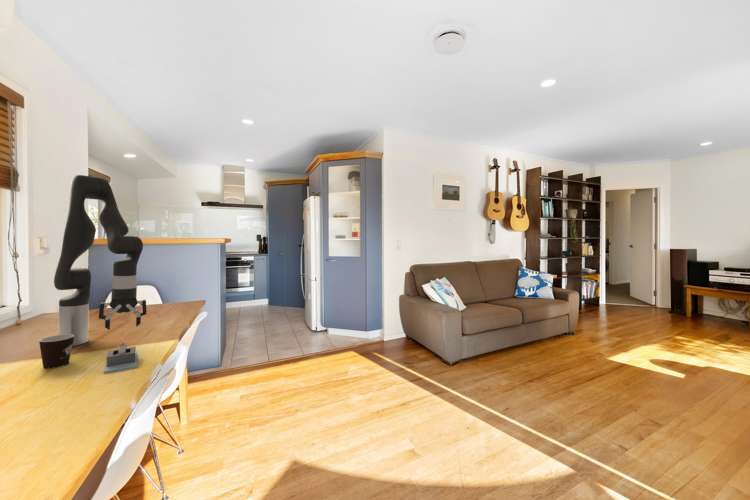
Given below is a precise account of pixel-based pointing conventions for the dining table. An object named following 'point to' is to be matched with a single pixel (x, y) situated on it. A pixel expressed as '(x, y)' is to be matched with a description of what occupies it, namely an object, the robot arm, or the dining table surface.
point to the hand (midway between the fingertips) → (123, 327)
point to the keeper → (121, 366)
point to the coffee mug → (56, 350)
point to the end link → (121, 356)
